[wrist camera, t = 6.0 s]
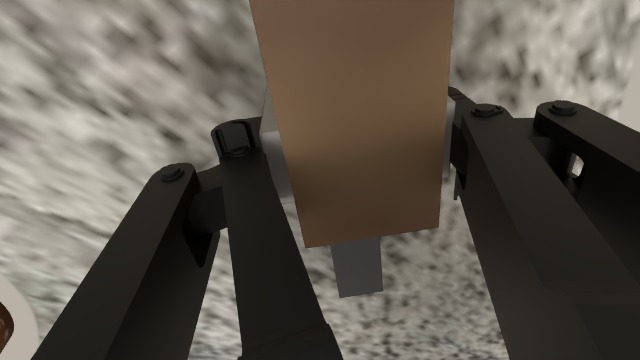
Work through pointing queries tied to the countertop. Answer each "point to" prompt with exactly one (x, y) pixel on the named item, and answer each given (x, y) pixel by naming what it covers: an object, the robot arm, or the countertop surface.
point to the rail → (358, 267)
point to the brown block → (359, 110)
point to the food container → (5, 326)
